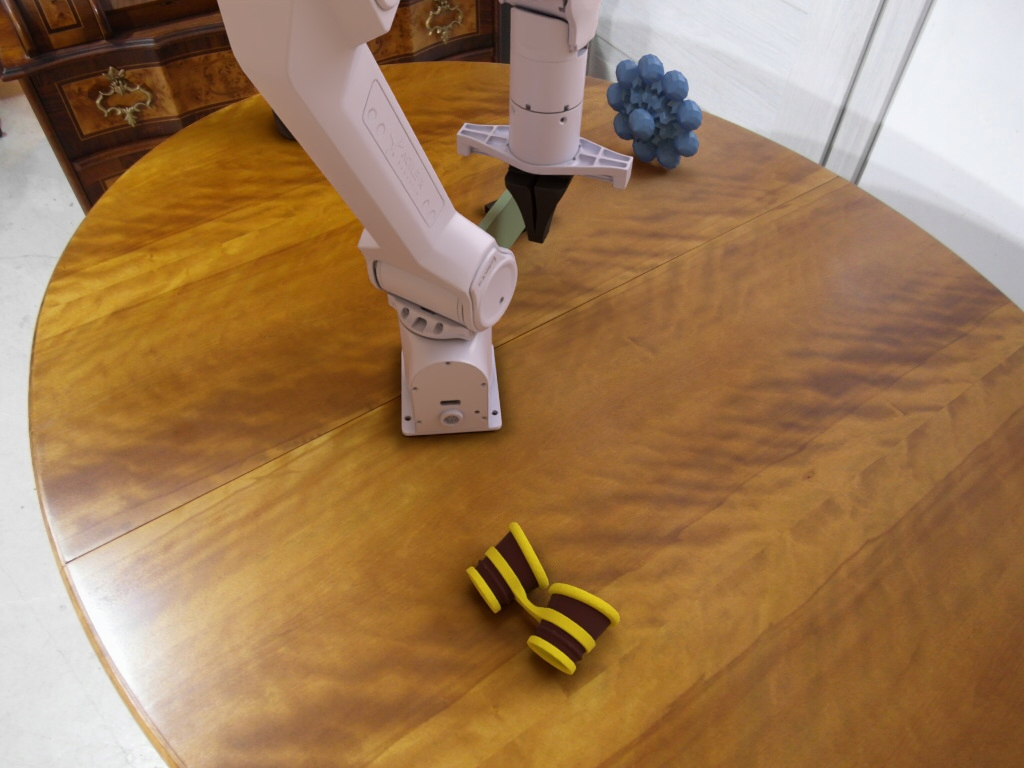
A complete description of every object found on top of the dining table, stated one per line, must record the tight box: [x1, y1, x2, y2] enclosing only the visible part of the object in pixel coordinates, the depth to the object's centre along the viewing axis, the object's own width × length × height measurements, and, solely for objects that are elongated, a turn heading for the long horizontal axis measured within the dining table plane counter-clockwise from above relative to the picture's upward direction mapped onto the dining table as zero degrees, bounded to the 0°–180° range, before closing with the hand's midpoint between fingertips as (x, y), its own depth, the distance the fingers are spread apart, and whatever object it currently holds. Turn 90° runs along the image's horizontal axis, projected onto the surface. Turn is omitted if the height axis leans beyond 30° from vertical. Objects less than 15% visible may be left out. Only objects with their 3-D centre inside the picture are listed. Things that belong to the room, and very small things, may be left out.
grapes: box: [605, 53, 703, 170], centre depth 83 cm, size 12×7×12 cm, turn 54°
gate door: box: [477, 188, 525, 250], centre depth 73 cm, size 12×2×6 cm, turn 156°
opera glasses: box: [465, 521, 621, 676], centre depth 51 cm, size 10×5×5 cm, turn 45°
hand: (538, 235), depth 70 cm, fingers closed
